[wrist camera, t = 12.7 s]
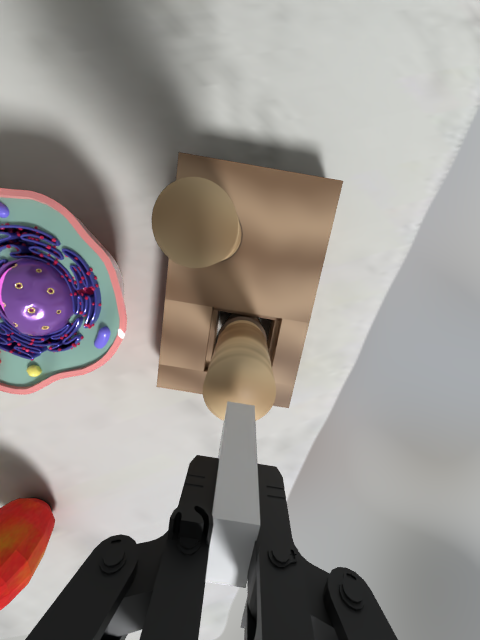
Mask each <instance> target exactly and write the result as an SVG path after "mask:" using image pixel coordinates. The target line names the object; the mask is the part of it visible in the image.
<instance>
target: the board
mask: <svg viewBox="0 0 480 640" xmlns="http://www.w3.org/2000/svg"><path fill="white" fill-rule="evenodd" d="M342 184H343V181H341V180H335V179H329V178H324V177H318V176H312V175H306V174H301V173H295V172H289V171H284V170H278V169H272V168H266V167H261V166H255V165H249V164H244V163H238V162H232V161H226V160H221V159H215V158H209V157H204V156H198V155H192V154H186V153H181V152H179V154H178V164H177V175H176V181H174V182H172V183H171V184H170V185H168V186H167V187H166V188H165V189H164V190H163V191H162V192H161V193H160V195H159V196H158V198H157V200H156V202H155V205H154V208H153V213H152V229H153V233H154V237H155V239H156V242H157V244H158V245H159V247H160V248H161V250H162V251H163V252H164V254H165V255H166V256H167V257H169V261H168V271H167V282H166V293H165V304H164V314H163V325H162V336H161V347H160V357H159V368H158V379H157V387H161V388H167V389H174V390H180V391H186V392H192V393H198V394H203V383H204V380H205V377H206V374H207V371H208V368H209V364H210V361H211V358H212V355H213V352H214V348H215V341H216V335H217V328H218V321H219V315H220V311H223V312H229V313H235V314H241V315H247V316H254V317H260V318H266V319H271V324H270V329H269V334H268V339H267V347H268V352H269V356H270V361H271V366H272V371H273V375H274V380H275V385H276V398H275V401H274V404H273V406H279V407H285V408H289V405H290V401H291V397H292V392H293V388H294V384H295V380H296V376H297V371H298V367H299V363H300V359H301V355H302V351H303V346H304V342H305V338H306V334H307V330H308V326H309V321H310V317H311V313H312V309H313V305H314V300H315V296H316V292H317V288H318V284H319V280H320V275H321V271H322V267H323V263H324V259H325V255H326V250H327V246H328V242H329V238H330V234H331V229H332V225H333V221H334V217H335V213H336V209H337V204H338V200H339V196H340V192H341V188H342Z"/></svg>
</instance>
